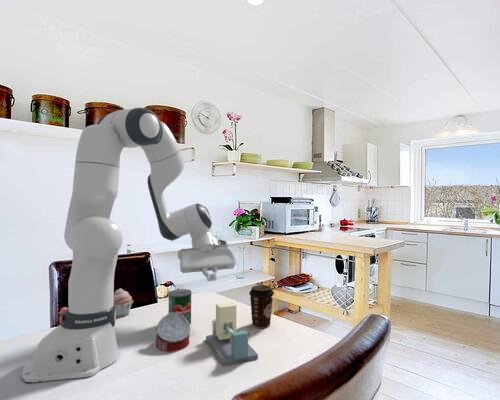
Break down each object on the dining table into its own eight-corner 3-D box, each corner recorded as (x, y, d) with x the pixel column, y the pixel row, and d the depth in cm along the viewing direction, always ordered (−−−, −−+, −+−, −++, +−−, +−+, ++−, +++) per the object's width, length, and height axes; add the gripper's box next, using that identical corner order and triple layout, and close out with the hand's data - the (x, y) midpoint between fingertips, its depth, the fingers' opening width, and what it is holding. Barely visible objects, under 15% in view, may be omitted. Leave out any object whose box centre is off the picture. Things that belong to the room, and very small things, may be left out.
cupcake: (132, 317, 118) (132, 290, 117) (104, 320, 115) (104, 292, 115) (134, 309, 127) (134, 284, 126) (109, 311, 124) (109, 285, 124)
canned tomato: (180, 329, 107) (180, 297, 107) (163, 324, 111) (163, 293, 111) (196, 322, 114) (196, 291, 114) (179, 317, 118) (179, 287, 118)
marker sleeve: (219, 340, 95) (219, 307, 95) (215, 334, 99) (215, 303, 98) (236, 337, 97) (236, 305, 97) (231, 332, 101) (231, 301, 101)
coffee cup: (274, 320, 116) (274, 284, 115) (273, 330, 107) (274, 291, 107) (250, 319, 116) (250, 284, 116) (247, 329, 108) (248, 290, 108)
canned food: (187, 354, 100) (202, 326, 100) (171, 366, 91) (188, 336, 90) (160, 332, 104) (174, 306, 103) (141, 342, 94) (157, 313, 94)
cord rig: (223, 366, 84) (223, 337, 84) (205, 339, 100) (206, 315, 100) (257, 358, 88) (258, 331, 88) (236, 334, 104) (236, 311, 104)
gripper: (177, 244, 114) (183, 277, 105) (232, 241, 122) (241, 272, 113) (175, 254, 118) (180, 288, 109) (228, 251, 126) (237, 281, 117)
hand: (212, 280), depth 111 cm, fingers closed
